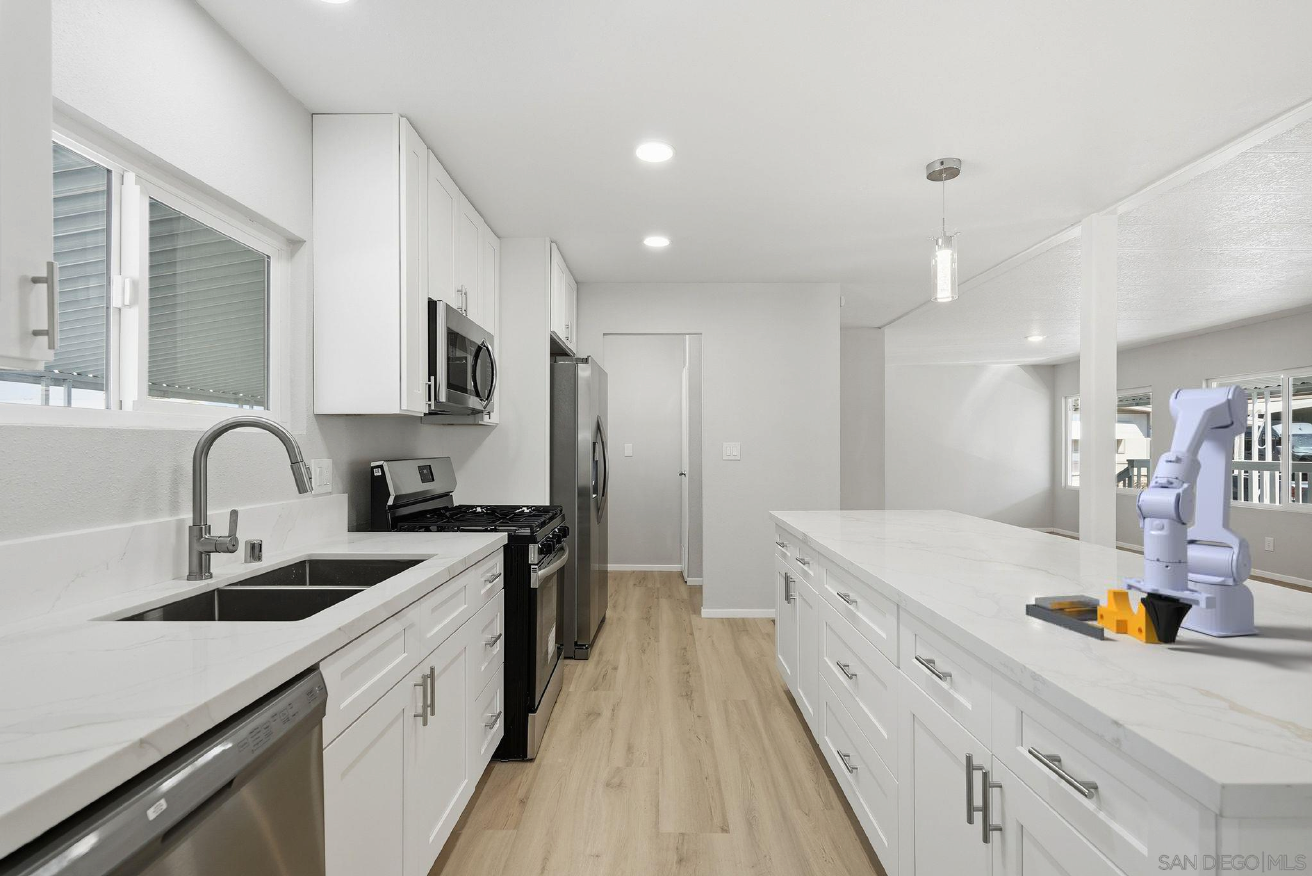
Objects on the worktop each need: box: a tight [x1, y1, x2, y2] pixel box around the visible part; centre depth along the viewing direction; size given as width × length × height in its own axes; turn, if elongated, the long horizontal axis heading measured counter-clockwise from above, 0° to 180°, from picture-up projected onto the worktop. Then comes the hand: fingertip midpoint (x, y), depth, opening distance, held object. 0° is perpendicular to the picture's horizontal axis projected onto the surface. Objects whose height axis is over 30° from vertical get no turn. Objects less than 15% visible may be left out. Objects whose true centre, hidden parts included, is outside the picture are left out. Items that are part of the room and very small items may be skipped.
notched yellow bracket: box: [1097, 588, 1163, 644], centre depth 116 cm, size 12×4×6 cm, turn 171°
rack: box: [1025, 594, 1105, 641], centre depth 122 cm, size 14×17×4 cm
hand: (1166, 641), depth 108 cm, fingers closed
